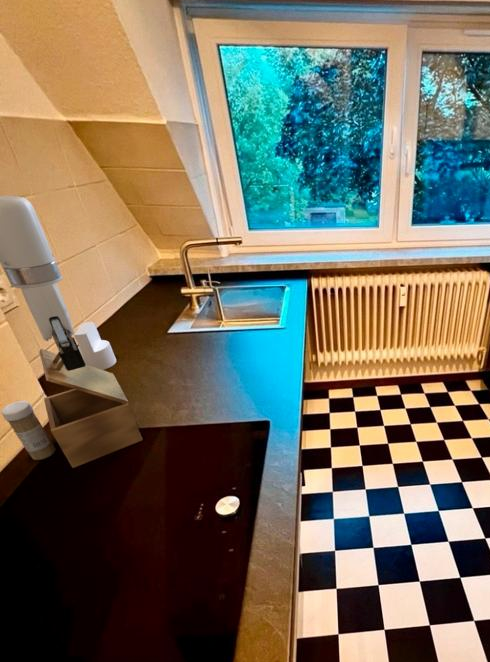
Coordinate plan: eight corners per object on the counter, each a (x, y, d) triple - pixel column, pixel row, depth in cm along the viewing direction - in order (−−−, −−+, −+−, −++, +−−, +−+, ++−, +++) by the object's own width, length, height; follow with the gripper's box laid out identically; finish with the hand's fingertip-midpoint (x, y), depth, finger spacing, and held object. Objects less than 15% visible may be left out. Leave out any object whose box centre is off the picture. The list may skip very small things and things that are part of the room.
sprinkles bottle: (56, 446, 87) (28, 397, 79) (59, 457, 84) (29, 407, 76) (31, 455, 84) (-1, 405, 77) (33, 466, 81) (0, 416, 74)
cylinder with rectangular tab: (87, 359, 120) (71, 324, 114) (119, 355, 122) (105, 320, 116) (78, 373, 113) (61, 337, 107) (113, 369, 115) (97, 332, 109)
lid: (46, 380, 70) (60, 357, 70) (39, 351, 80) (51, 331, 80) (126, 404, 81) (138, 384, 81) (111, 376, 91) (122, 358, 91)
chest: (74, 471, 80) (51, 431, 74) (64, 435, 90) (43, 397, 84) (144, 443, 87) (128, 404, 82) (128, 413, 97) (113, 376, 91)
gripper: (5, 266, 72) (47, 352, 82) (9, 290, 61) (57, 386, 71) (54, 260, 76) (88, 342, 86) (65, 281, 65) (103, 373, 75)
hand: (74, 361), depth 78 cm, fingers closed on lid, 5 cm apart
